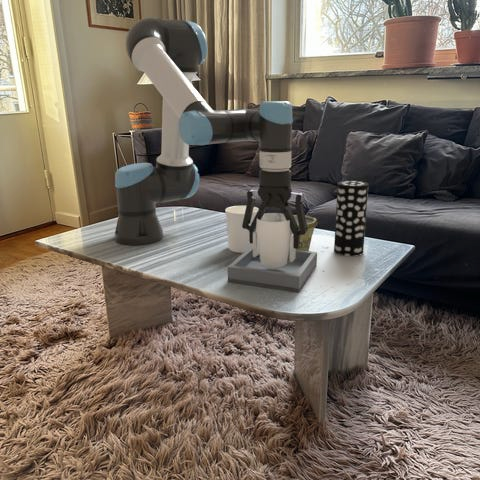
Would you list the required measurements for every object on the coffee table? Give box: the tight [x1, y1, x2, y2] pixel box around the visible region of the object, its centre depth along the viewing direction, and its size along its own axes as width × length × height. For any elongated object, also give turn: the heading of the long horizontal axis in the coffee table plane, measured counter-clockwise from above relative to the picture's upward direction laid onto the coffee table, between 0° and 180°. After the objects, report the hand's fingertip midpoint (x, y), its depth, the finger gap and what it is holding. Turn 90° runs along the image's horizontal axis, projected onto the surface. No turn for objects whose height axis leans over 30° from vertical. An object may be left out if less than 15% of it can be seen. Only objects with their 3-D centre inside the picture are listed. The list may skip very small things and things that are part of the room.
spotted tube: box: [333, 180, 369, 257], centre depth 129 cm, size 8×8×20 cm
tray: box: [227, 245, 318, 293], centre depth 116 cm, size 18×18×4 cm
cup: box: [256, 212, 292, 267], centre depth 114 cm, size 9×9×12 cm
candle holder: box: [224, 205, 259, 254], centre depth 134 cm, size 10×10×12 cm
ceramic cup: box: [289, 214, 318, 251], centre depth 131 cm, size 13×10×10 cm
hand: (273, 257), depth 115 cm, fingers closed on cup, 9 cm apart
